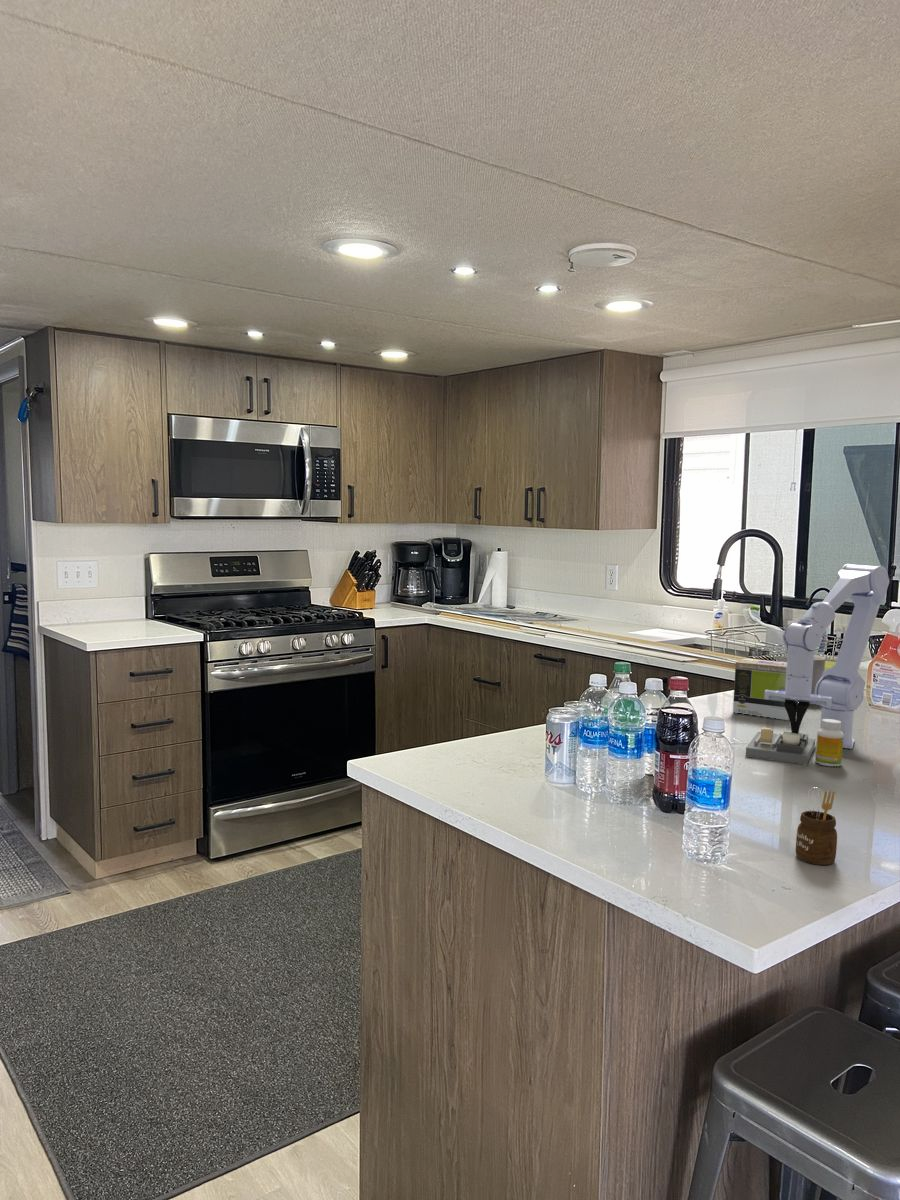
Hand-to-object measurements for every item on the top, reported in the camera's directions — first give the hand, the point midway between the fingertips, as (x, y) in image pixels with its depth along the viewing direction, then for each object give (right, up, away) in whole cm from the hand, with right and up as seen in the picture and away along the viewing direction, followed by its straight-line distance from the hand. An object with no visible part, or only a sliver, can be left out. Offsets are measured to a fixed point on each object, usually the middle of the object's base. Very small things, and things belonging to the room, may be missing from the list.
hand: (795, 732), depth 209 cm
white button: (-4, -2, -7) cm, 8 cm away
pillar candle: (+26, 0, +60) cm, 65 cm away
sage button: (0, -2, 0) cm, 2 cm away
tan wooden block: (-8, -2, -3) cm, 8 cm away
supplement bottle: (+3, -6, -10) cm, 12 cm away
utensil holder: (-23, -10, -67) cm, 72 cm away
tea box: (+7, -1, +40) cm, 40 cm away
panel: (-4, -4, -1) cm, 6 cm away
